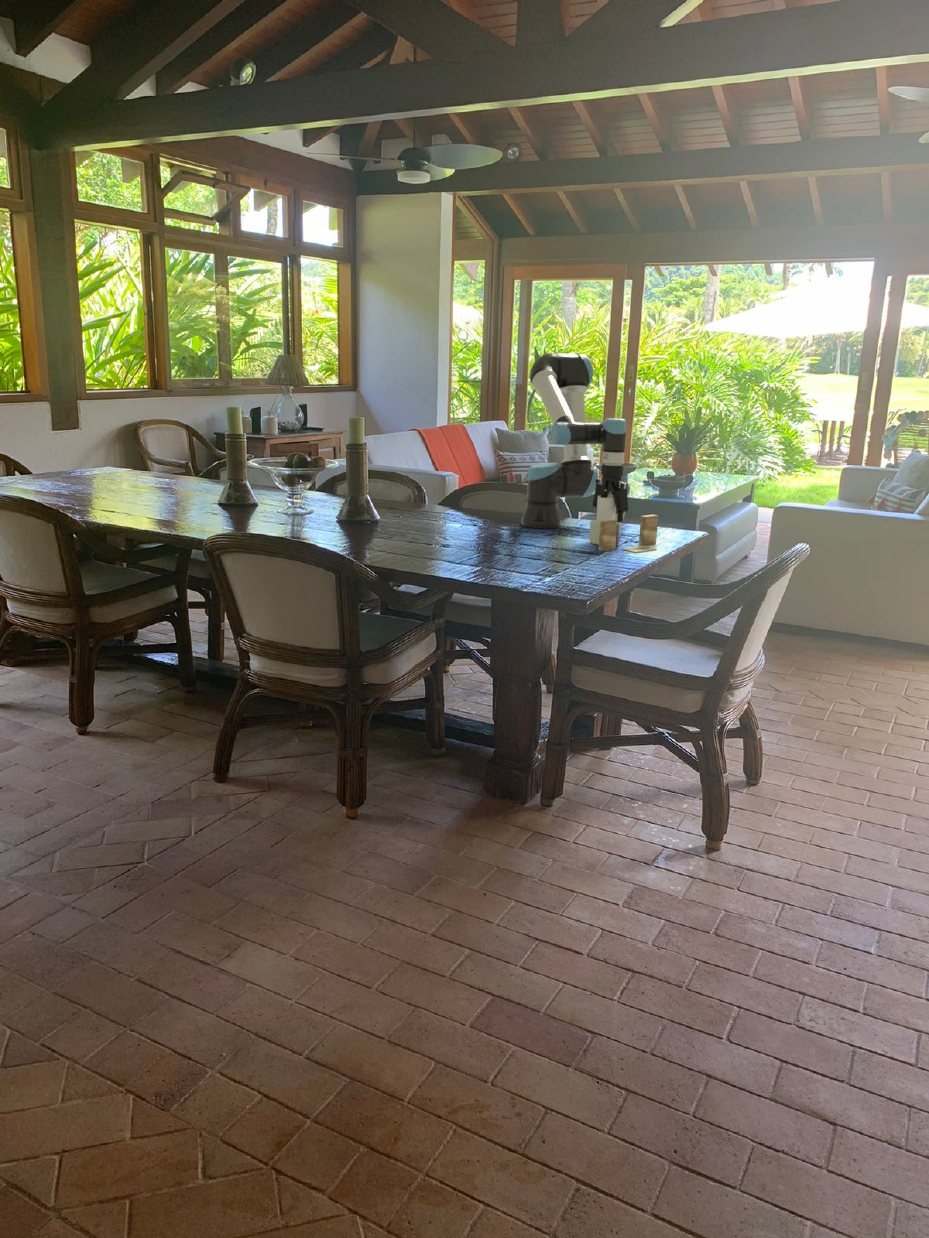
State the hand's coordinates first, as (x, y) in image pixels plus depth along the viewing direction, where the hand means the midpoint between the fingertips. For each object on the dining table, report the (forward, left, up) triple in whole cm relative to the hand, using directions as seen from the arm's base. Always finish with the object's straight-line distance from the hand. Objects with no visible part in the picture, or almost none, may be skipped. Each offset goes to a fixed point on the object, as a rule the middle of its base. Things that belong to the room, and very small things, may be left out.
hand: (608, 529), depth 328 cm
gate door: (+6, -8, -4) cm, 10 cm away
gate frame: (+15, -1, -4) cm, 16 cm away
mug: (+1, 0, -1) cm, 1 cm away
